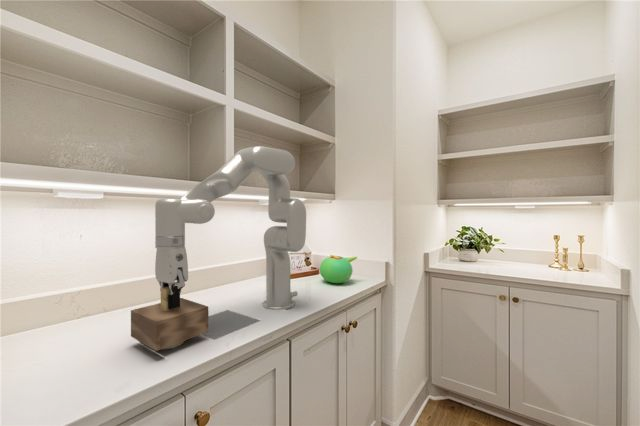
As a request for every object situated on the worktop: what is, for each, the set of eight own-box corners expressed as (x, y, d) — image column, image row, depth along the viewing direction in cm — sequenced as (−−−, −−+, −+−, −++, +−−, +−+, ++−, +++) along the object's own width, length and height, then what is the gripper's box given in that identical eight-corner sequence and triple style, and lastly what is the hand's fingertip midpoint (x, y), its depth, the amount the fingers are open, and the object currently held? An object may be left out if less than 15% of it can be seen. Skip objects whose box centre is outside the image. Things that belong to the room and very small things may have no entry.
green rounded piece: (313, 281, 156) (313, 254, 156) (337, 277, 166) (337, 251, 166) (335, 288, 142) (335, 258, 141) (360, 283, 152) (360, 255, 152)
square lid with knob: (181, 320, 94) (181, 279, 94) (208, 331, 85) (208, 285, 85) (130, 336, 82) (130, 288, 82) (156, 350, 73) (156, 297, 73)
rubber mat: (227, 311, 110) (227, 310, 110) (260, 321, 100) (260, 320, 100) (181, 326, 95) (181, 325, 95) (214, 341, 85) (214, 339, 85)
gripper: (199, 242, 82) (199, 308, 82) (168, 239, 91) (168, 298, 91) (172, 245, 76) (172, 316, 76) (143, 241, 85) (143, 304, 85)
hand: (170, 306), depth 84 cm, fingers closed on square lid with knob, 3 cm apart
